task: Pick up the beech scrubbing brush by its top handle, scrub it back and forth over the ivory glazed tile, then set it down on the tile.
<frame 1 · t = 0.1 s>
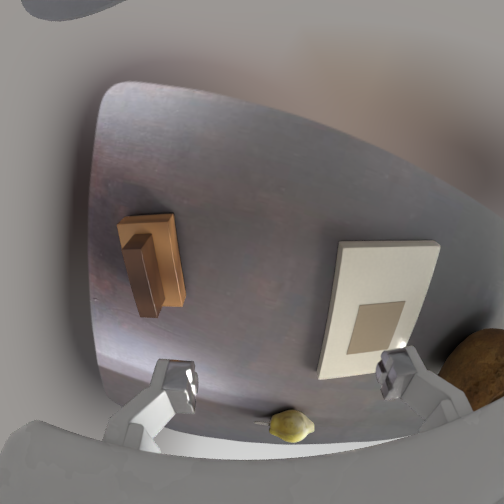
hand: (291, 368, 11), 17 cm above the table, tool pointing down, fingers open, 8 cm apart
fruit 2: (282, 413, 42), on the table
tile: (373, 315, 32), on the table
bowl: (463, 348, 37), on the table
brush: (158, 253, 28), on the table
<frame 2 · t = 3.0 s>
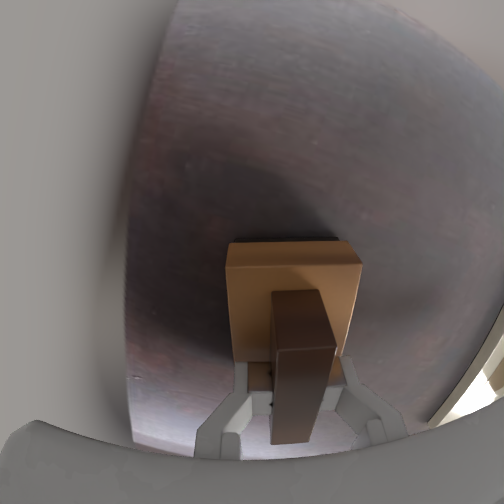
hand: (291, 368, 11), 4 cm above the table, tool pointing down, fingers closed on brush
tile: (503, 355, 18), on the table
brush: (284, 313, 14), on the table, touching gripper
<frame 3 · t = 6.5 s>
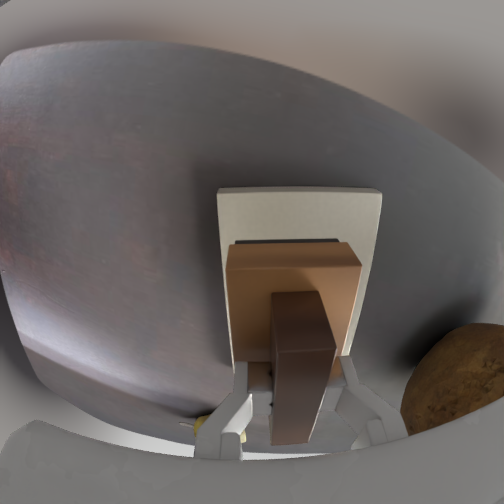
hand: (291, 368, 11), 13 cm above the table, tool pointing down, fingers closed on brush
fruit 2: (213, 416, 35), on the table
tile: (295, 297, 25), on the table
bowl: (444, 348, 30), on the table
brush: (284, 314, 14), point 9 cm above the table, touching gripper
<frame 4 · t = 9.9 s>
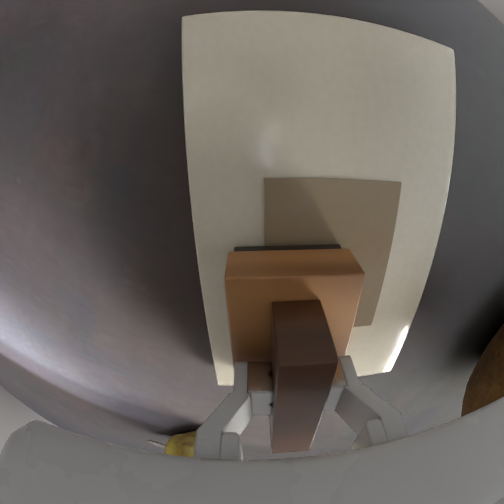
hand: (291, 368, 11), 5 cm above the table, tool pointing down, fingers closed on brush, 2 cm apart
fruit 2: (193, 434, 24), on the table
tile: (324, 231, 14), on the table
brush: (284, 321, 14), point 2 cm above the table, touching gripper
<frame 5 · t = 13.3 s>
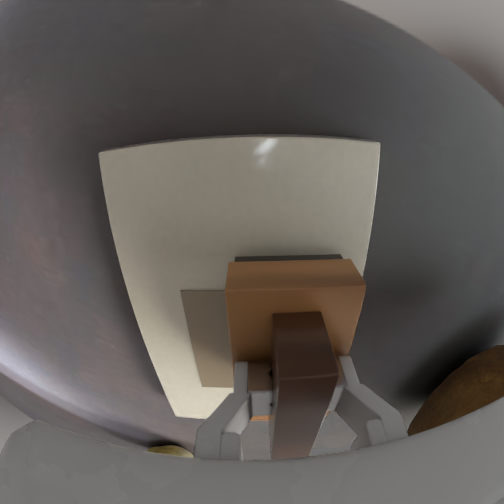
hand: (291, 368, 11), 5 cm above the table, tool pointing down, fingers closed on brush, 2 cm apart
fruit 2: (168, 447, 27), on the table
tile: (244, 316, 16), on the table
bowl: (458, 374, 21), on the table
brush: (284, 330, 14), point 2 cm above the table, touching gripper
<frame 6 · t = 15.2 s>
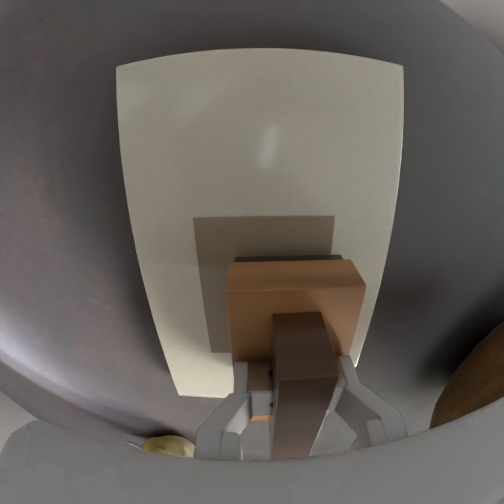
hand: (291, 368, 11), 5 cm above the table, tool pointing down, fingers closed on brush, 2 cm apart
fruit 2: (169, 438, 25), on the table
tile: (263, 261, 14), on the table
bowl: (481, 350, 19), on the table
brush: (285, 330, 14), point 2 cm above the table, touching gripper
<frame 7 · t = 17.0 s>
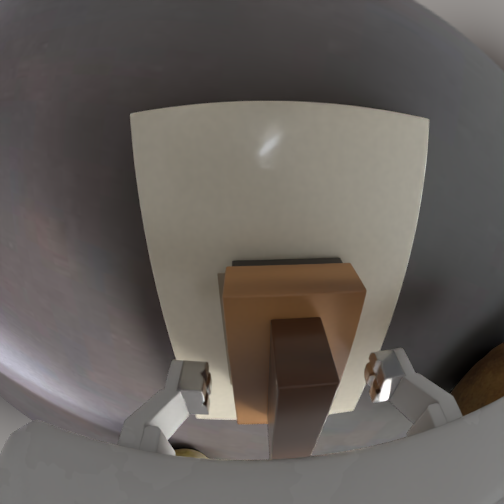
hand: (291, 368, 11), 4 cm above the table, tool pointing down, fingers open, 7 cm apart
fruit 2: (181, 450, 25), on the table
tile: (281, 304, 15), on the table
bowl: (479, 366, 20), on the table
brush: (283, 333, 14), point 2 cm above the table, touching tile
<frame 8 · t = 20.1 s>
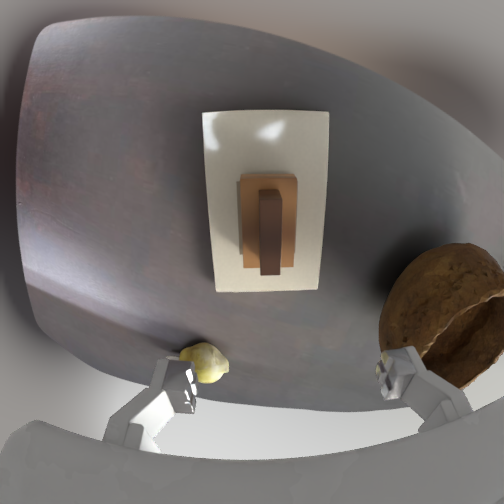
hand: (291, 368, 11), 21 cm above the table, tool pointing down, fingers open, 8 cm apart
fruit 2: (198, 350, 40), on the table
tile: (266, 204, 30), on the table
bowl: (419, 281, 35), on the table
brush: (267, 215, 29), point 2 cm above the table, touching tile
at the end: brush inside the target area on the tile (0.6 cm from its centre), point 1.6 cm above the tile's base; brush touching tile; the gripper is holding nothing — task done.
